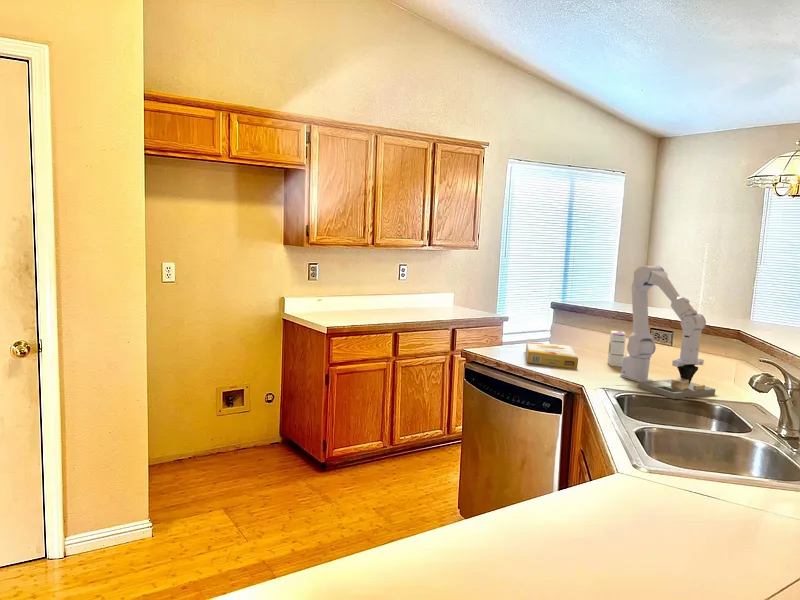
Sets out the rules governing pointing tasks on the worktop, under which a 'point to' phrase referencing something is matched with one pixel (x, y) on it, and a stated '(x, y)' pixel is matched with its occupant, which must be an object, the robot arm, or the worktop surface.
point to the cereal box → (551, 355)
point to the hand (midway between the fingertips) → (685, 385)
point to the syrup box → (616, 348)
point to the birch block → (680, 383)
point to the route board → (666, 389)
